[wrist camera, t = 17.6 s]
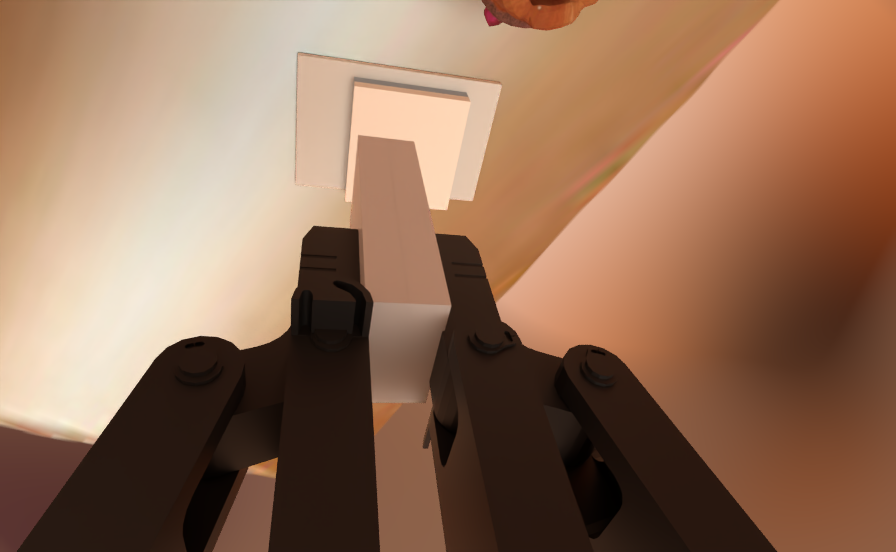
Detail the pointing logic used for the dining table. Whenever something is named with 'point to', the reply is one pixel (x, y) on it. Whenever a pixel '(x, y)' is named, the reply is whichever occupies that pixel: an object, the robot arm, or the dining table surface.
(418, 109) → the tile
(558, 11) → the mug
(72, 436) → the dining table surface
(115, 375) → the dining table surface
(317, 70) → the mat
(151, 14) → the dining table surface
